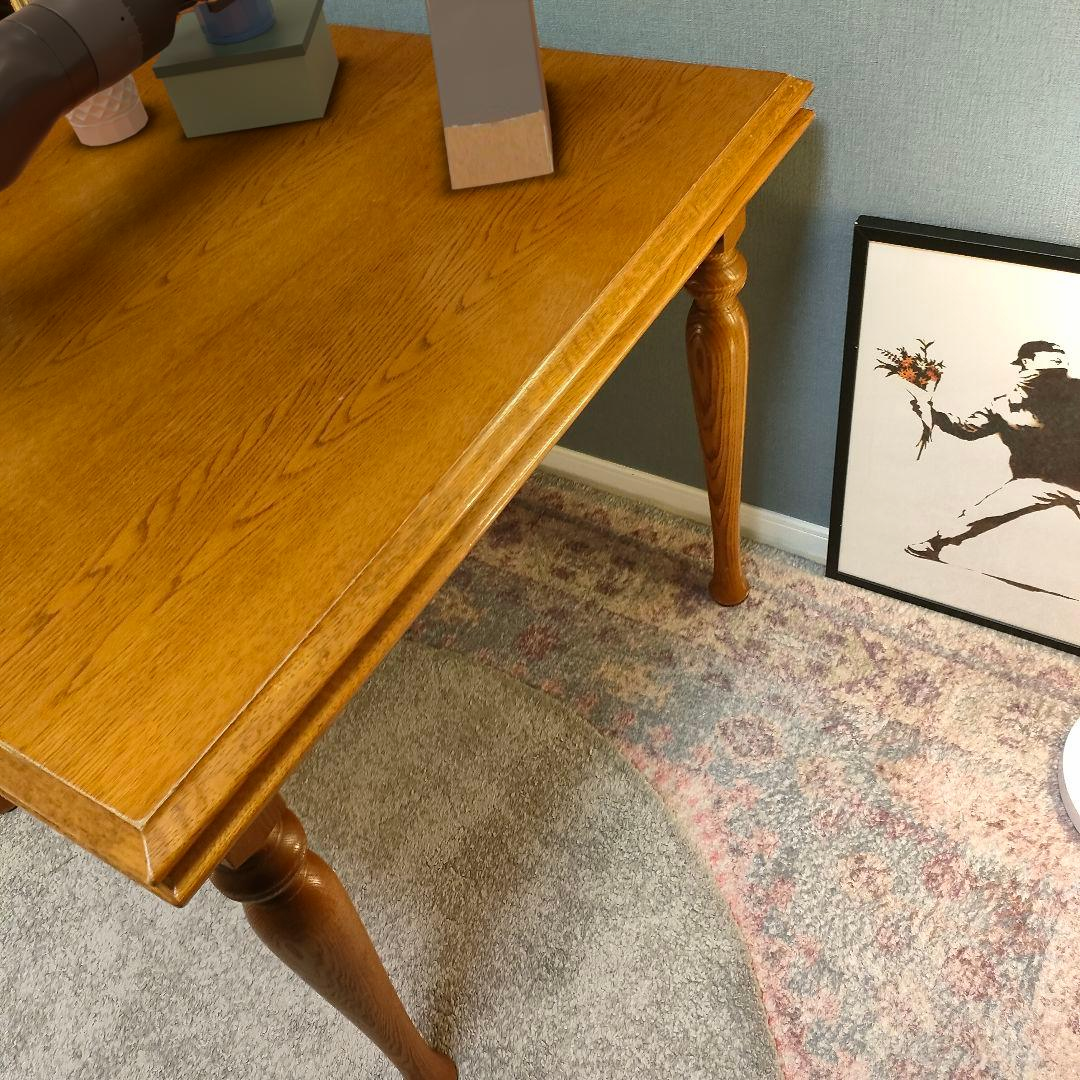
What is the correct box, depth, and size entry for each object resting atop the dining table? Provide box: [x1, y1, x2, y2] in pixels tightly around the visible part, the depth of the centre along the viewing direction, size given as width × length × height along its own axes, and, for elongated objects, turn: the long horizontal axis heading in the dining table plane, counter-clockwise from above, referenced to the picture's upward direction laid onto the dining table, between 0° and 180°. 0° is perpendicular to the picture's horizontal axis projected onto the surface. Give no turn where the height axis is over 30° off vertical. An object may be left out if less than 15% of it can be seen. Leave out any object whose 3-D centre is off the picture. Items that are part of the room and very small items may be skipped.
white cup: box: [64, 72, 149, 147], centre depth 92 cm, size 8×8×10 cm
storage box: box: [151, 0, 340, 139], centre depth 93 cm, size 14×12×7 cm
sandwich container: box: [424, 0, 555, 190], centre depth 78 cm, size 9×15×15 cm, turn 3°
